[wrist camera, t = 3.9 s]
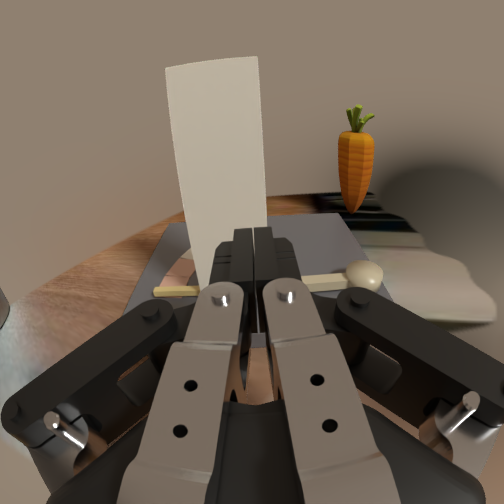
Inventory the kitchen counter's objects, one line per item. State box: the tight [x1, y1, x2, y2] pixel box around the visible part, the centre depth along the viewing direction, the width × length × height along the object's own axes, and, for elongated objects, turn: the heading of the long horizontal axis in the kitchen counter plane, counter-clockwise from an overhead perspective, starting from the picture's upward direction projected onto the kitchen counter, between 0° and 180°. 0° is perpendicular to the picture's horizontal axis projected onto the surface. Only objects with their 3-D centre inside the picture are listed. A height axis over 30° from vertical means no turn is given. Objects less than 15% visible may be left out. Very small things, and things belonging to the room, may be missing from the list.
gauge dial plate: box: [122, 213, 393, 348], centre depth 26 cm, size 21×18×2 cm
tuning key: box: [153, 56, 383, 297], centre depth 16 cm, size 18×3×16 cm, turn 91°
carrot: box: [338, 105, 374, 214], centre depth 32 cm, size 5×5×15 cm
